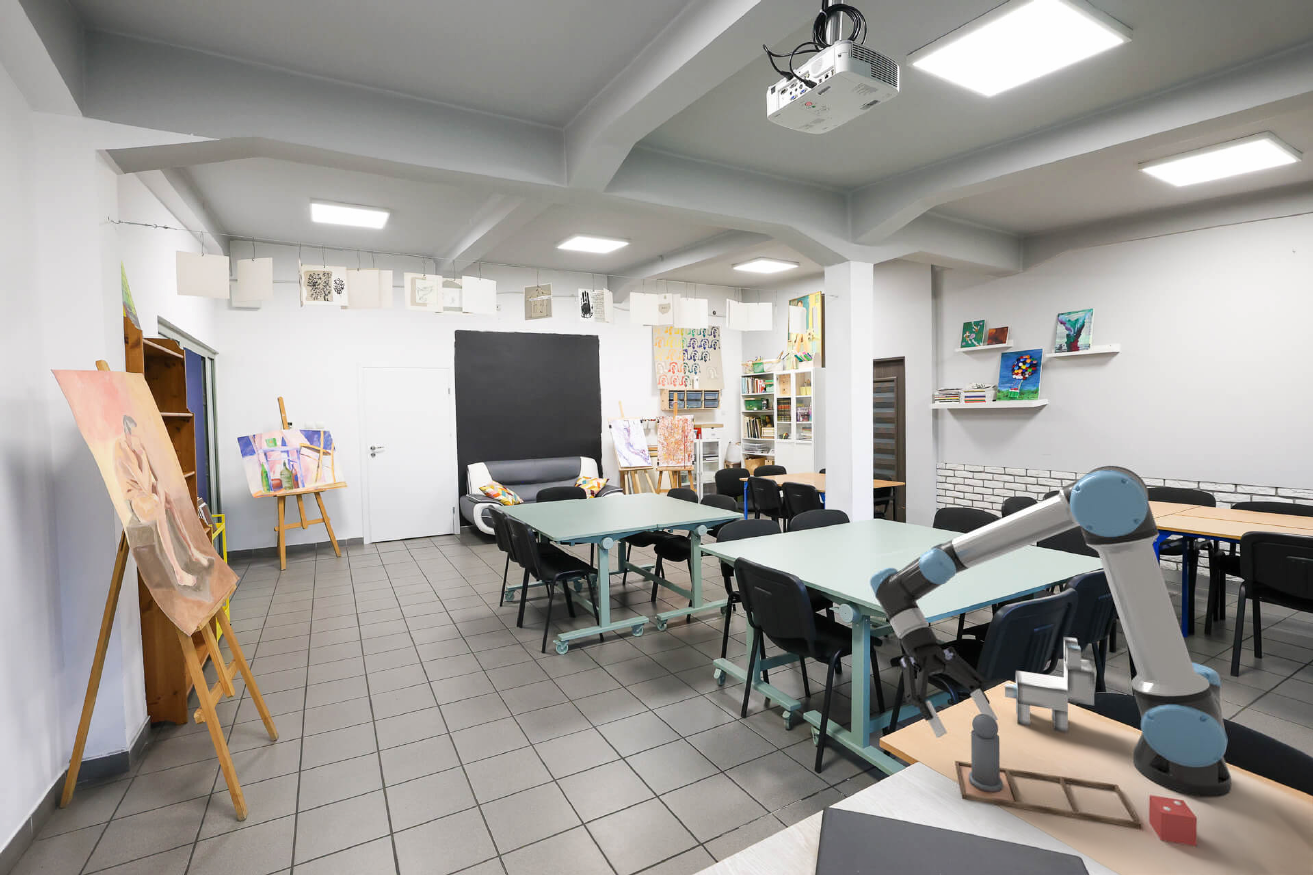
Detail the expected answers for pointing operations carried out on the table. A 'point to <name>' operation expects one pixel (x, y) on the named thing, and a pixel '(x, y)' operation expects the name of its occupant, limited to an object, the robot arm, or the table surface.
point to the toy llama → (1054, 688)
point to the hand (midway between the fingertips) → (968, 728)
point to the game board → (1006, 799)
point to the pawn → (985, 755)
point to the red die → (1173, 820)
